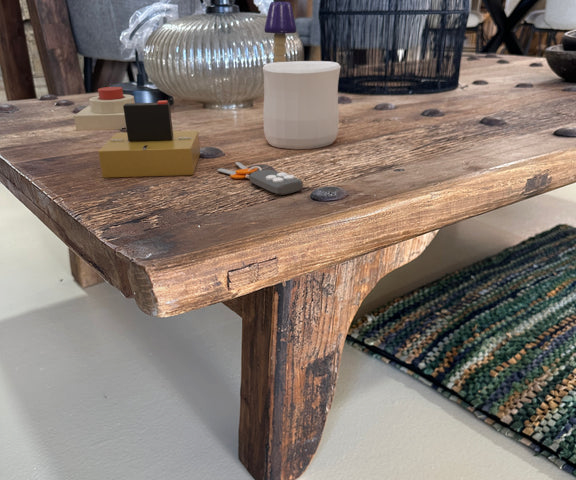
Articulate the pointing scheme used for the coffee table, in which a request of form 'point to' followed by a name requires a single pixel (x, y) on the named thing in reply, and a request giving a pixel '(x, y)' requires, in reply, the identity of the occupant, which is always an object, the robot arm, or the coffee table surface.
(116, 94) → the release button
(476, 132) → the coffee table surface
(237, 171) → the key chain
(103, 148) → the plate
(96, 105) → the box
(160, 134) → the lock turn
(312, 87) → the cup
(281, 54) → the toy lamp
